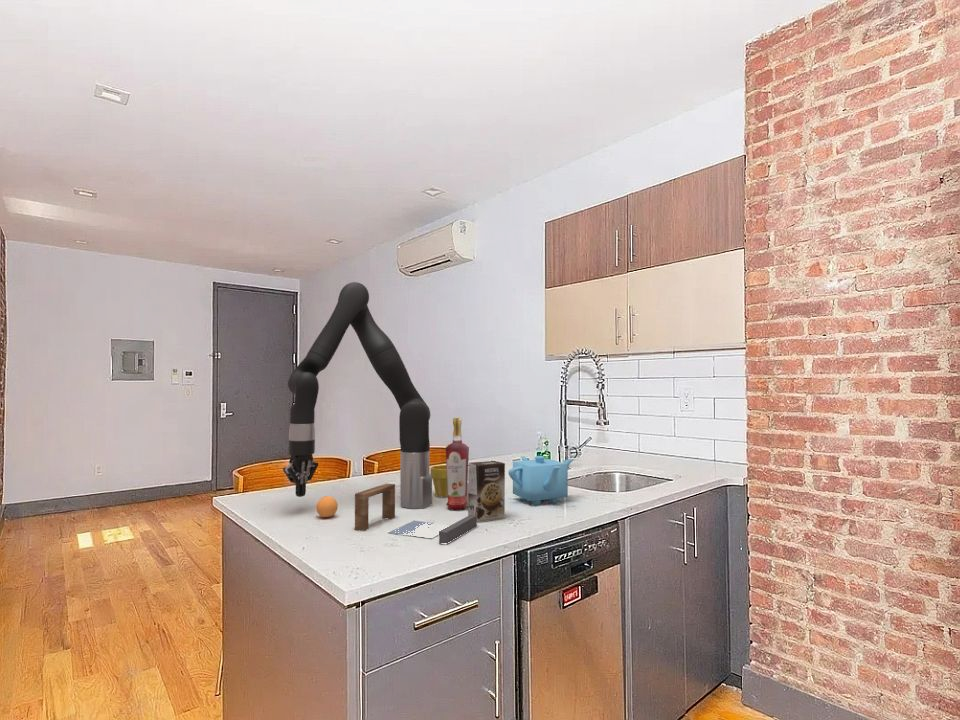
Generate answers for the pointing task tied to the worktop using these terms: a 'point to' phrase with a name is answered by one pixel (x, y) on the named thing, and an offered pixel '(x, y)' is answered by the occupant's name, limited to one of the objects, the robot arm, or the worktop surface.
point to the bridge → (363, 504)
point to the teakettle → (540, 479)
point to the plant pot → (439, 480)
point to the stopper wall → (457, 529)
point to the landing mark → (408, 527)
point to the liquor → (457, 469)
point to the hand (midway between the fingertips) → (300, 496)
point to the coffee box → (486, 490)
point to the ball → (327, 506)
